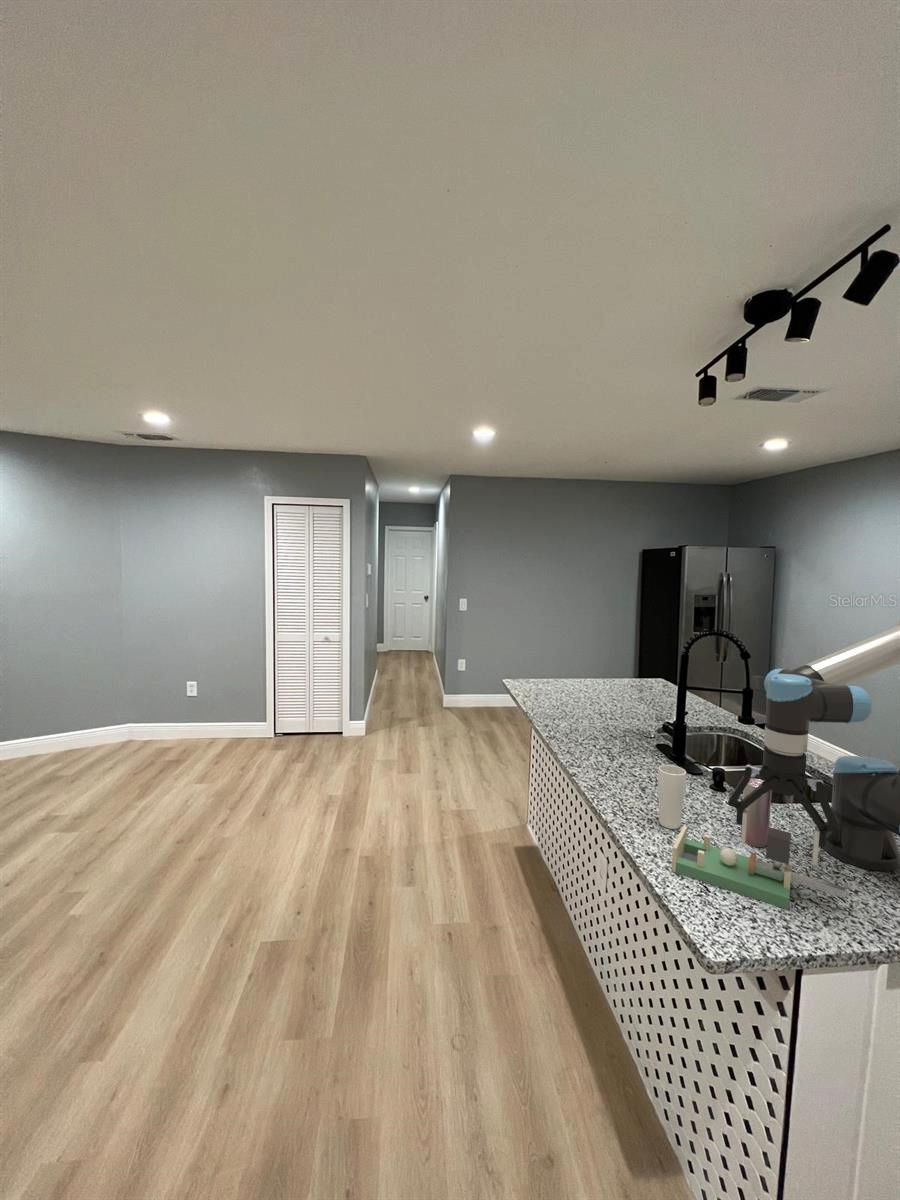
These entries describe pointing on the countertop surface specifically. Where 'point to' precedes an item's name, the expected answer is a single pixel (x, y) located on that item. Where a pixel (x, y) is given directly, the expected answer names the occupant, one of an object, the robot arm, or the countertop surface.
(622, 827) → the countertop surface
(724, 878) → the board
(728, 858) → the ball
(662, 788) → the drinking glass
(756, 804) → the beverage can
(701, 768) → the countertop surface
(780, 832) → the grey slider
